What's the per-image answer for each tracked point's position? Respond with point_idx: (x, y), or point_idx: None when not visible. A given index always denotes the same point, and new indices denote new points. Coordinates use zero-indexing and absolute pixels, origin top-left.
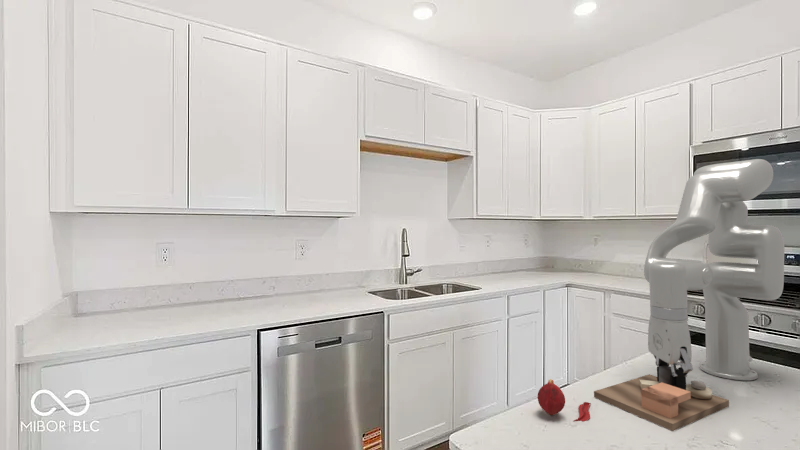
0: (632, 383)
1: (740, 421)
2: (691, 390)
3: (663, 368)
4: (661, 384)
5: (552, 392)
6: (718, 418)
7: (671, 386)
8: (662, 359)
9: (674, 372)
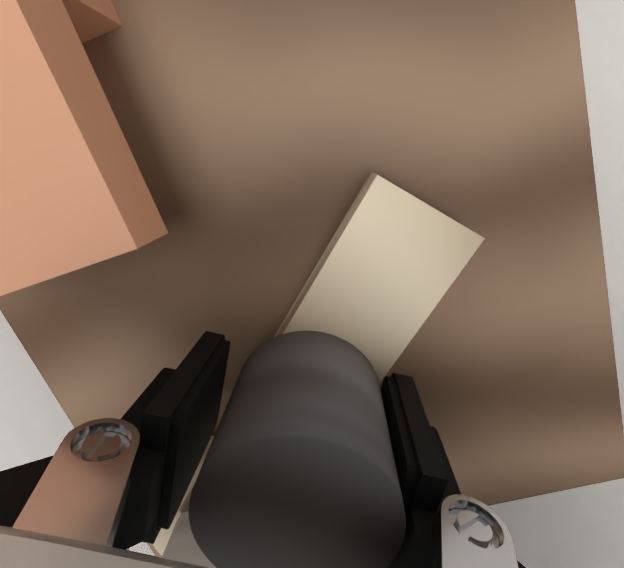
0: (535, 214)
1: (23, 456)
2: (199, 466)
3: (308, 475)
4: (68, 188)
5: None
6: (49, 389)
7: (19, 259)
8: (103, 565)
9: (59, 456)
